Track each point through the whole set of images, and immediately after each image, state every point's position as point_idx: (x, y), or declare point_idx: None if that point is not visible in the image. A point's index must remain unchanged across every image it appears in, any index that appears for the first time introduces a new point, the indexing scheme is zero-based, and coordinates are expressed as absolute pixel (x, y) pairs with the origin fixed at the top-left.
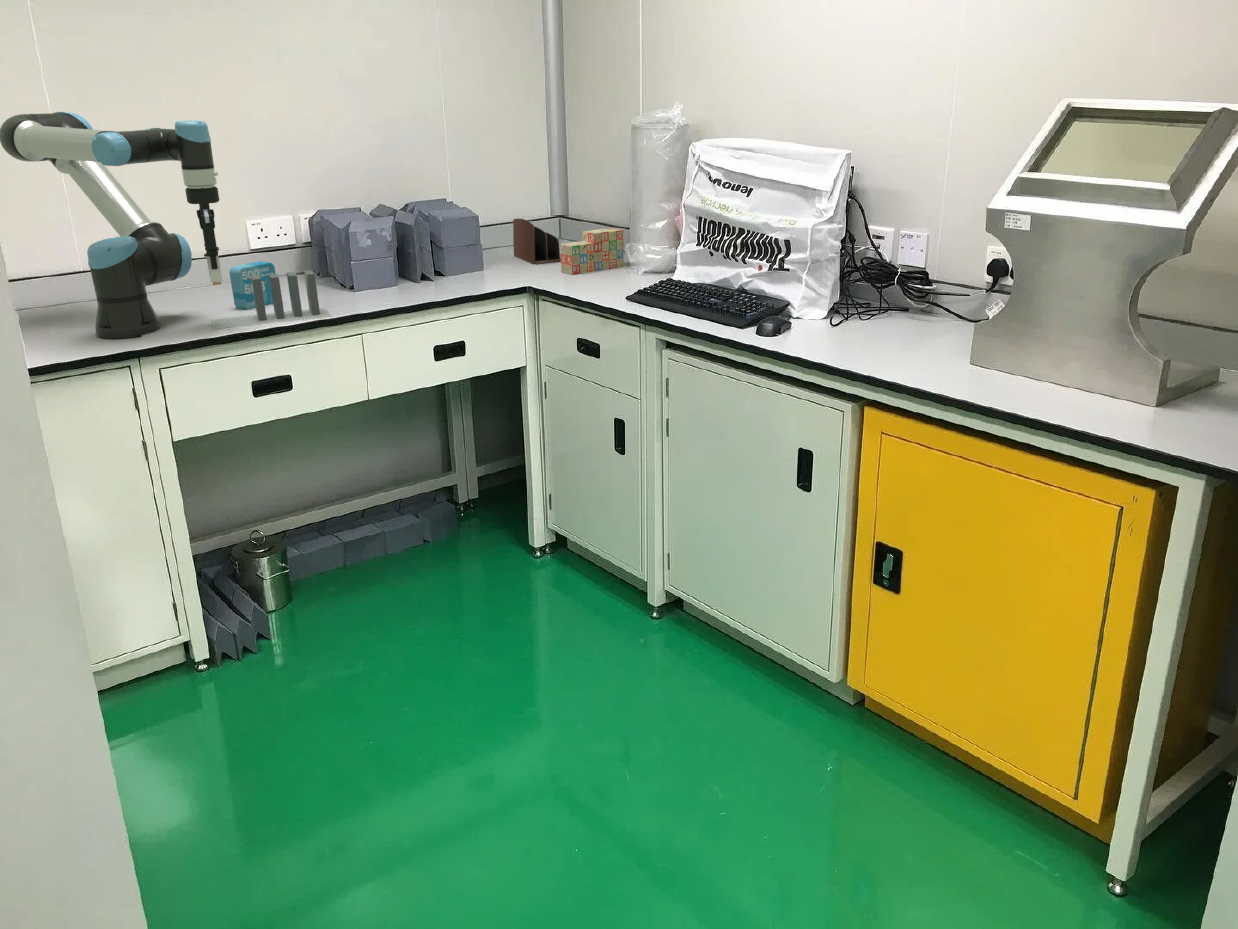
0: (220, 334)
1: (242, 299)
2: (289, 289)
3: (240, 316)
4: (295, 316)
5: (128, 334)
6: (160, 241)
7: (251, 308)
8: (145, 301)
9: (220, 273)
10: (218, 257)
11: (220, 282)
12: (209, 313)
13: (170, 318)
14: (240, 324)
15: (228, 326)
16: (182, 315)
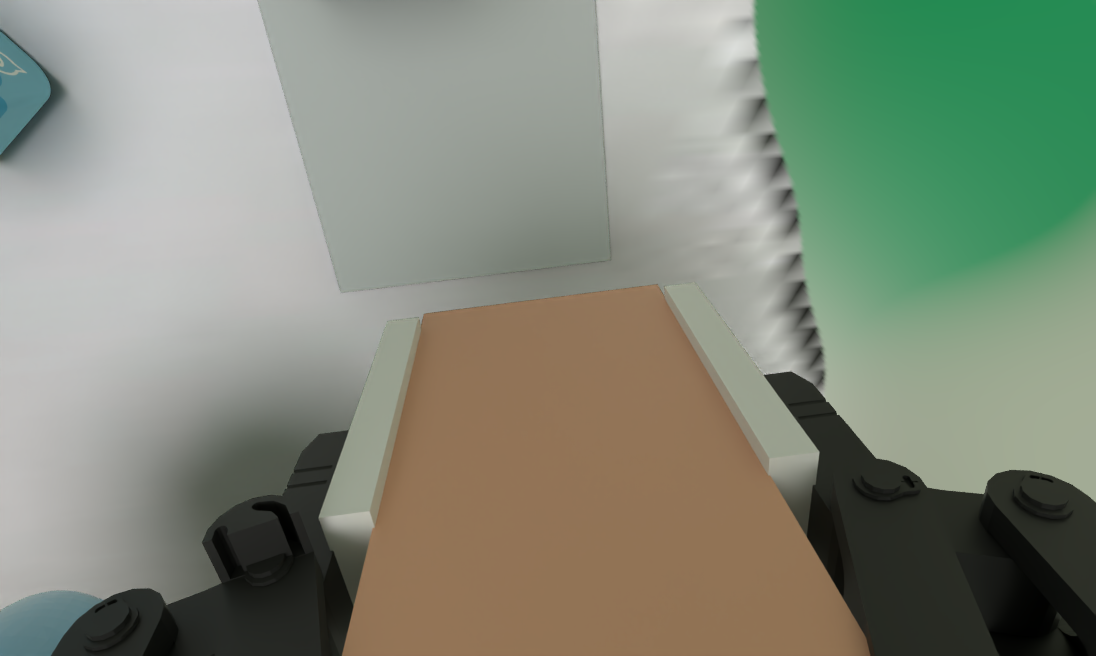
0: (725, 212)
1: (4, 113)
2: None
3: (292, 117)
4: None
5: None
6: None
7: (11, 45)
8: None
9: (724, 325)
10: (803, 435)
11: (663, 297)
12: (115, 317)
13: (224, 484)
14: (549, 105)
15: (579, 179)
16: (155, 443)
